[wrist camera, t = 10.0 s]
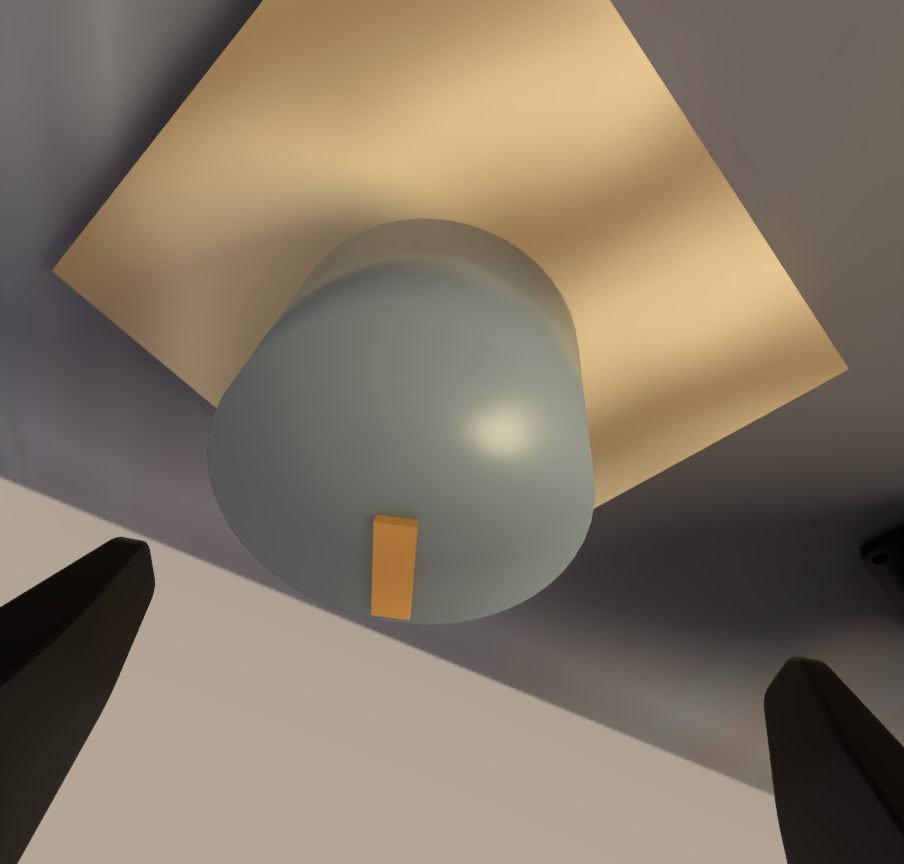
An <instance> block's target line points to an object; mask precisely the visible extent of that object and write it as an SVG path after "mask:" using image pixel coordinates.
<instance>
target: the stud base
mask: <svg viewBox="0 0 904 864" xmlns="http://www.w3.org/2000/svg"><path fill="white" fill-rule="evenodd" d="M420 218H425V219H443V220H449V221H454V222H460V223H465V224H468V225H471V226H474V227H477V228H480V229H483V230H486V231H488V232H490V233H492V234H494V235H497V236H499V237H501V238H503V239H505V240H506V241H508V242H509V243H511V244H513V245H514V246H516V247H517V248H519V249H520V250H522V251H523V252H524V253H525V254H527V255H528V256H529V257H530V258H531V259H532V260H534V261H535V262H536V263H537V264H538V265H539V266H540V267H541V268H542V269H543V270H544V272H545V273H546V274H547V275H548V276H549V277H550V278H551V280H552V281H553V283H554V284H555V286H556V287H557V289H558V290H559V292H560V293H561V295H562V296H563V298H564V300H565V302H566V305H567V307H568V309H569V311H570V313H571V316H572V320H573V323H574V326H575V329H576V335H577V342H578V348H579V356H580V364H581V373H582V381H583V389H584V397H585V405H586V413H587V422H588V430H589V438H590V446H591V454H592V462H593V470H594V479H595V504H594V508H596V507H598V506H600V505H601V504H603V503H605V502H607V501H609V500H611V499H612V498H614V497H616V496H618V495H620V494H622V493H623V492H625V491H627V490H629V489H631V488H633V487H634V486H636V485H638V484H640V483H642V482H644V481H645V480H647V479H649V478H651V477H653V476H655V475H656V474H658V473H660V472H662V471H664V470H665V469H667V468H669V467H671V466H673V465H675V464H676V463H678V462H680V461H682V460H684V459H686V458H687V457H689V456H691V455H693V454H695V453H697V452H698V451H700V450H702V449H704V448H706V447H708V446H709V445H711V444H713V443H715V442H717V441H719V440H720V439H722V438H724V437H726V436H728V435H729V434H731V433H733V432H735V431H737V430H739V429H740V428H742V427H744V426H746V425H748V424H750V423H751V422H753V421H755V420H757V419H759V418H761V417H762V416H764V415H766V414H768V413H770V412H772V411H773V410H775V409H777V408H779V407H781V406H783V405H784V404H786V403H788V402H790V401H792V400H794V399H795V398H797V397H799V396H801V395H803V394H804V393H806V392H808V391H810V390H812V389H814V388H815V387H817V386H819V385H821V384H823V383H825V382H826V381H828V380H830V379H832V378H834V377H836V376H837V375H839V374H841V373H843V372H845V371H847V370H848V367H847V365H846V364H845V362H844V361H843V359H842V358H841V356H840V355H839V353H838V352H837V350H836V349H835V347H834V345H833V344H832V342H831V341H830V339H829V338H828V336H827V335H826V333H825V332H824V330H823V328H822V327H821V325H820V324H819V322H818V321H817V319H816V318H815V316H814V315H813V313H812V311H811V310H810V308H809V307H808V305H807V304H806V302H805V301H804V299H803V298H802V296H801V295H800V293H799V291H798V290H797V288H796V287H795V285H794V284H793V282H792V281H791V279H790V278H789V276H788V274H787V273H786V271H785V270H784V268H783V267H782V265H781V264H780V262H779V261H778V259H777V258H776V256H775V254H774V253H773V251H772V250H771V248H770V247H769V245H768V244H767V242H766V241H765V239H764V237H763V236H762V234H761V233H760V231H759V230H758V228H757V227H756V225H755V224H754V222H753V221H752V219H751V217H750V216H749V214H748V213H747V211H746V210H745V208H744V207H743V205H742V204H741V202H740V200H739V199H738V197H737V196H736V194H735V193H734V191H733V190H732V188H731V187H730V185H729V184H728V182H727V180H726V179H725V177H724V176H723V174H722V173H721V171H720V170H719V168H718V167H717V165H716V163H715V162H714V160H713V159H712V157H711V156H710V154H709V153H708V151H707V150H706V148H705V147H704V145H703V143H702V142H701V140H700V139H699V137H698V136H697V134H696V133H695V131H694V130H693V128H692V126H691V125H690V123H689V122H688V120H687V119H686V117H685V116H684V114H683V113H682V111H681V109H680V108H679V106H678V105H677V103H676V102H675V100H674V99H673V97H672V96H671V94H670V93H669V91H668V89H667V88H666V86H665V85H664V83H663V82H662V80H661V79H660V77H659V76H658V74H657V72H656V71H655V69H654V68H653V66H652V65H651V63H650V62H649V60H648V59H647V57H646V56H645V54H644V52H643V51H642V49H641V48H640V46H639V45H638V43H637V42H636V40H635V39H634V37H633V35H632V34H631V32H630V31H629V29H628V28H627V26H626V25H625V23H624V22H623V20H622V19H621V17H620V15H619V14H618V12H617V11H616V9H615V8H614V6H613V5H612V3H611V2H610V0H263V1H262V2H261V4H260V5H259V6H258V7H257V9H256V10H255V11H254V13H253V14H252V15H251V16H250V18H249V19H248V20H247V22H246V23H245V24H244V25H243V27H242V28H241V29H240V31H239V32H238V33H237V34H236V36H235V37H234V38H233V39H232V41H231V42H230V43H229V45H228V46H227V47H226V48H225V50H224V51H223V52H222V54H221V55H220V56H219V57H218V59H217V60H216V61H215V63H214V64H213V65H212V66H211V68H210V69H209V70H208V71H207V73H206V74H205V75H204V77H203V78H202V79H201V80H200V82H199V83H198V84H197V86H196V87H195V88H194V89H193V91H192V92H191V93H190V94H189V96H188V97H187V98H186V100H185V101H184V102H183V103H182V105H181V106H180V107H179V109H178V110H177V111H176V112H175V114H174V115H173V116H172V118H171V119H170V120H169V121H168V123H167V124H166V125H165V126H164V128H163V129H162V130H161V132H160V133H159V134H158V135H157V137H156V138H155V139H154V141H153V142H152V143H151V144H150V146H149V147H148V148H147V150H146V151H145V152H144V153H143V155H142V156H141V157H140V158H139V160H138V161H137V162H136V164H135V165H134V166H133V167H132V169H131V170H130V171H129V173H128V174H127V175H126V176H125V178H124V179H123V180H122V181H121V183H120V184H119V185H118V187H117V188H116V189H115V190H114V192H113V193H112V194H111V196H110V197H109V198H108V199H107V201H106V202H105V203H104V205H103V206H102V207H101V208H100V210H99V211H98V212H97V213H96V215H95V216H94V217H93V219H92V220H91V221H90V222H89V224H88V225H87V226H86V228H85V229H84V230H83V231H82V233H81V234H80V235H79V237H78V238H77V239H76V240H75V242H74V243H73V244H72V245H71V247H70V248H69V249H68V251H67V252H66V253H65V254H64V256H63V257H62V258H61V260H60V261H59V262H58V263H57V265H56V266H55V267H54V268H53V270H52V272H54V273H55V274H56V275H57V276H58V277H60V278H61V279H62V280H63V281H64V282H66V283H67V284H68V285H69V286H70V287H72V288H73V289H74V290H75V291H76V292H78V293H79V294H80V295H81V296H82V297H84V298H85V299H86V300H87V301H88V302H90V303H91V304H92V305H93V306H94V307H96V308H97V309H98V310H99V311H100V312H101V313H103V314H104V315H105V316H106V317H107V318H109V319H110V320H111V321H112V322H113V323H115V324H116V325H117V326H118V327H119V328H121V329H122V330H123V331H124V332H125V333H127V334H128V335H129V336H130V337H131V338H133V339H134V340H135V341H136V342H137V343H139V344H140V345H141V346H142V347H143V348H145V349H146V350H147V351H148V352H149V353H151V354H152V355H153V356H154V357H155V358H157V359H158V360H159V361H160V362H161V363H163V364H164V365H165V366H166V367H167V368H169V369H170V370H171V371H172V372H173V373H175V374H176V375H177V376H178V377H179V378H181V379H182V380H183V381H184V382H185V383H187V384H188V385H189V386H190V387H191V388H193V389H194V390H195V391H196V392H197V393H199V394H200V395H201V396H202V397H203V398H205V399H206V400H207V401H208V402H209V403H211V404H212V405H213V406H214V407H215V408H217V407H218V404H219V402H220V400H221V398H222V396H223V394H224V393H225V391H226V390H227V388H228V387H229V386H230V384H231V383H232V381H233V380H234V379H235V377H236V376H237V375H238V373H239V372H240V370H241V369H242V368H243V366H244V365H245V363H246V362H247V361H248V359H249V358H250V357H251V355H252V354H253V352H254V351H255V350H256V348H257V347H258V346H259V344H260V343H261V341H262V340H263V339H264V337H265V336H266V334H267V333H268V332H269V330H270V329H271V328H272V326H273V325H274V323H275V322H276V321H277V319H278V318H279V316H280V315H281V314H282V312H283V311H284V310H285V308H286V307H287V305H288V304H289V303H290V301H291V300H292V299H293V297H294V296H295V294H296V293H297V292H298V290H299V289H300V287H301V286H302V285H303V283H304V282H305V281H306V279H307V278H308V276H309V275H310V274H311V272H312V271H313V270H314V268H315V267H316V265H317V264H318V263H319V262H320V261H321V260H322V259H323V258H324V257H325V256H326V255H327V254H328V253H329V252H330V251H332V250H333V249H334V248H336V247H337V246H338V245H340V244H341V243H342V242H344V241H345V240H347V239H349V238H351V237H353V236H354V235H356V234H358V233H360V232H362V231H365V230H367V229H370V228H373V227H375V226H378V225H381V224H385V223H390V222H394V221H399V220H408V219H420Z"/></svg>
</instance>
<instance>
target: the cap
mask: <svg viewBox="0 0 904 864" xmlns="http://www.w3.org/2000/svg"><path fill="white" fill-rule="evenodd" d="M207 456H208V470H209V475H210V480H211V484H212V488H213V492H214V494H215V497H216V500H217V502H218V505H219V507H220V510H221V511H222V513H223V515H224V517H225V519H226V520H227V522H228V524H229V526H230V527H231V529H232V530H233V532H234V533H235V534H236V536H237V537H238V538H239V540H240V541H241V542H242V544H243V545H244V546H245V547H246V548H247V549H248V550H249V551H250V552H251V554H252V555H253V556H254V557H255V558H256V559H257V560H258V561H259V562H260V563H262V564H263V565H264V566H265V567H266V568H267V569H269V570H270V571H271V572H272V573H273V574H275V575H276V576H277V577H279V578H280V579H282V580H283V581H284V582H286V583H287V584H289V585H290V586H292V587H293V588H295V589H297V590H299V591H300V592H302V593H304V594H305V595H307V596H309V597H311V598H313V599H315V600H318V601H320V602H322V603H324V604H326V605H328V606H331V607H334V608H336V609H339V610H342V611H345V612H347V613H351V614H354V615H358V616H362V617H365V618H369V619H374V620H380V621H385V622H391V623H401V624H411V625H438V624H450V623H458V622H464V621H470V620H475V619H479V618H483V617H486V616H490V615H493V614H497V613H499V612H502V611H504V610H507V609H509V608H512V607H514V606H516V605H518V604H520V603H522V602H524V601H525V600H527V599H529V598H531V597H533V596H534V595H536V594H537V593H538V592H540V591H541V590H543V589H544V588H545V587H547V586H548V585H549V584H550V583H551V582H553V581H554V580H555V579H556V578H557V577H558V576H559V575H560V574H561V573H562V572H563V571H564V570H565V569H566V567H567V566H568V565H569V564H570V562H571V561H572V560H573V559H574V557H575V556H576V554H577V552H578V550H579V549H580V547H581V545H582V544H583V542H584V540H585V537H586V534H587V532H588V529H589V526H590V524H591V520H592V515H593V509H594V504H595V479H594V470H593V462H592V454H591V446H590V438H589V430H588V422H587V413H586V405H585V397H584V389H583V381H582V373H581V364H580V356H579V348H578V342H577V335H576V329H575V326H574V323H573V320H572V316H571V313H570V311H569V309H568V307H567V305H566V302H565V300H564V298H563V296H562V295H561V293H560V292H559V290H558V289H557V287H556V286H555V284H554V283H553V281H552V280H551V278H550V277H549V276H548V275H547V274H546V273H545V272H544V270H543V269H542V268H541V267H540V266H539V265H538V264H537V263H536V262H535V261H534V260H532V259H531V258H530V257H529V256H528V255H527V254H525V253H524V252H523V251H522V250H520V249H519V248H517V247H516V246H514V245H513V244H511V243H509V242H508V241H506V240H505V239H503V238H501V237H499V236H497V235H494V234H492V233H490V232H488V231H486V230H483V229H480V228H477V227H474V226H471V225H468V224H465V223H460V222H454V221H449V220H443V219H425V218H420V219H408V220H399V221H394V222H390V223H385V224H381V225H378V226H375V227H373V228H370V229H367V230H365V231H362V232H360V233H358V234H356V235H354V236H353V237H351V238H349V239H347V240H345V241H344V242H342V243H341V244H340V245H338V246H337V247H336V248H334V249H333V250H332V251H330V252H329V253H328V254H327V255H326V256H325V257H324V258H323V259H322V260H321V261H320V262H319V263H318V264H317V265H316V267H315V268H314V270H313V271H312V272H311V274H310V275H309V276H308V278H307V279H306V281H305V282H304V283H303V285H302V286H301V287H300V289H299V290H298V292H297V293H296V294H295V296H294V297H293V299H292V300H291V301H290V303H289V304H288V305H287V307H286V308H285V310H284V311H283V312H282V314H281V315H280V316H279V318H278V319H277V321H276V322H275V323H274V325H273V326H272V328H271V329H270V330H269V332H268V333H267V334H266V336H265V337H264V339H263V340H262V341H261V343H260V344H259V346H258V347H257V348H256V350H255V351H254V352H253V354H252V355H251V357H250V358H249V359H248V361H247V362H246V363H245V365H244V366H243V368H242V369H241V370H240V372H239V373H238V375H237V376H236V377H235V379H234V380H233V381H232V383H231V384H230V386H229V387H228V388H227V390H226V391H225V393H224V394H223V396H222V398H221V400H220V402H219V404H218V407H217V409H216V411H215V413H214V416H213V420H212V424H211V427H210V431H209V439H208V449H207Z"/></svg>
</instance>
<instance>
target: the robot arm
mask: <svg viewBox="0 0 904 864" xmlns="http://www.w3.org/2000/svg"><path fill="white" fill-rule="evenodd" d="M859 554H860V557H861V559H862V560H863V562H864V564H865V566H866V567H867V568H868V570H869V571H870V572H871V573H872V575H873V576H874V577H875V579H876V580H877V581H878V583H879V584H880V585H881V587H882V588H883V589H884V591H885V592H886V593H887V595H888V596H889V597H890V599H891V600H892V601H893V603H894V604H895V605H896V607H897V608H898V609H899V611H900V612H901V613H902V615H903V616H904V527H903V528H900V529H898V530H896V531H893V532H891V533H889V534H886V535H884V536H882V537H879V538H877V539H875V540H872V541H870V542H868V543H866V544H865V545H863V546H862V548H861V549H860V552H859ZM877 554H879V555H877ZM875 555H876V556H875ZM154 588H155V578H154V572H153V566H152V560H151V554H150V549H149V546H148V544H147V543H146V542H144V541H142V540H135V539H130V538H125V537H117V538H114V539H111V540H110V541H108V542H106V543H105V544H103V545H102V546H100V547H98V548H97V549H95V550H94V551H92V552H90V553H88V554H87V555H85V556H83V557H82V558H80V559H79V560H77V561H75V562H74V563H72V564H70V565H69V566H67V567H65V568H64V569H62V570H60V571H59V572H57V573H55V574H54V575H52V576H51V577H49V578H47V579H46V580H44V581H42V582H41V583H39V584H38V585H36V586H34V587H33V588H31V589H29V590H28V591H26V592H24V593H23V594H21V595H19V596H18V597H16V598H15V599H13V600H11V601H10V602H8V603H6V604H5V605H3V606H2V607H0V864H17V863H18V862H19V860H20V858H21V856H22V855H23V853H24V851H25V849H26V847H27V846H28V844H29V842H30V840H31V838H32V836H33V835H34V833H35V831H36V829H37V828H38V826H39V824H40V822H41V821H42V819H43V817H44V815H45V813H46V811H47V810H48V808H49V806H50V804H51V803H52V801H53V799H54V797H55V795H56V794H57V792H58V790H59V788H60V786H61V785H62V783H63V781H64V779H65V777H66V776H67V774H68V772H69V770H70V769H71V767H72V765H73V763H74V761H75V759H76V758H77V756H78V754H79V752H80V751H81V749H82V747H83V745H84V743H85V742H86V740H87V738H88V736H89V734H90V733H91V731H92V729H93V727H94V725H95V724H96V722H97V720H98V718H99V716H100V715H101V713H102V711H103V709H104V707H105V705H106V703H107V701H108V699H109V697H110V695H111V693H112V691H113V688H114V686H115V684H116V682H117V679H118V677H119V675H120V672H121V670H122V668H123V665H124V663H125V660H126V658H127V656H128V653H129V651H130V649H131V646H132V644H133V642H134V639H135V637H136V635H137V632H138V630H139V627H140V625H141V623H142V620H143V618H144V616H145V613H146V611H147V609H148V606H149V604H150V602H151V599H152V596H153V593H154ZM764 712H765V720H766V728H767V737H768V745H769V754H770V762H771V771H772V779H773V787H774V796H775V803H776V809H777V816H778V821H779V827H780V832H781V836H782V841H783V846H784V850H785V854H786V859H787V863H788V864H904V747H903V746H902V745H901V744H900V743H899V742H898V740H897V739H896V738H895V737H894V736H893V735H892V734H891V733H890V732H889V731H888V730H887V729H886V728H885V727H884V725H883V724H882V723H881V722H880V721H879V720H878V719H877V718H876V717H875V716H874V715H873V714H872V713H871V711H870V710H869V709H868V708H867V707H866V706H865V705H864V704H863V703H862V702H861V701H860V700H859V699H858V698H857V696H856V695H855V694H854V693H853V692H852V691H851V690H850V689H849V688H848V687H847V686H846V685H845V684H844V683H843V681H842V680H841V679H840V678H839V677H838V676H837V675H836V674H835V673H834V672H833V671H832V670H831V669H830V668H829V667H828V666H827V665H826V664H825V663H823V662H821V661H819V660H814V659H808V658H803V657H792V658H790V659H788V660H787V661H786V662H785V664H784V665H783V667H782V668H781V670H780V671H779V672H778V674H777V675H776V677H775V678H774V680H773V681H772V682H771V684H770V685H769V687H768V688H767V690H766V693H765V697H764Z"/></svg>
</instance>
